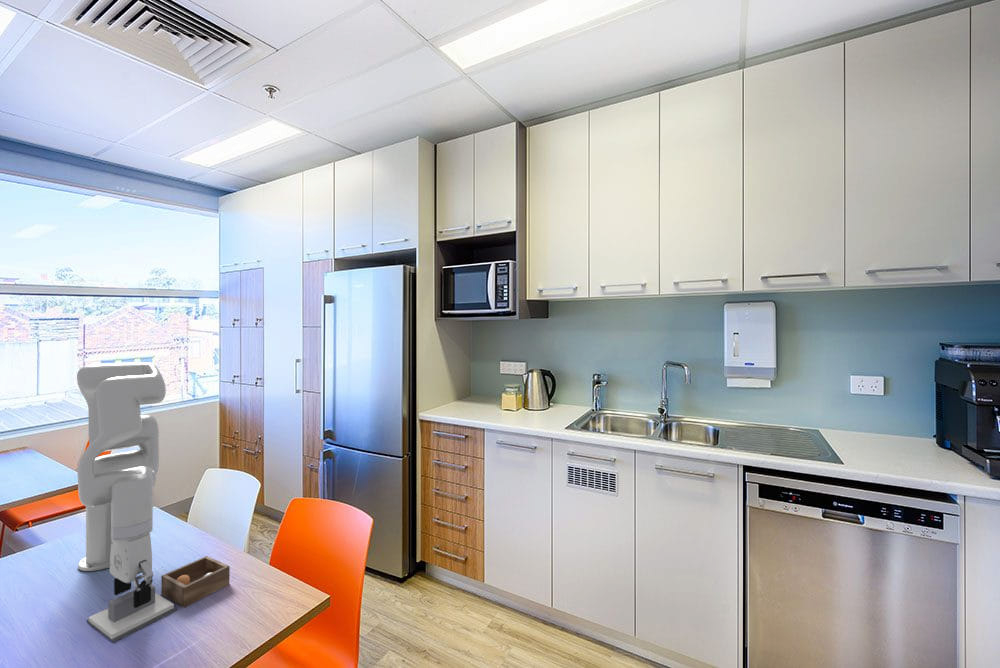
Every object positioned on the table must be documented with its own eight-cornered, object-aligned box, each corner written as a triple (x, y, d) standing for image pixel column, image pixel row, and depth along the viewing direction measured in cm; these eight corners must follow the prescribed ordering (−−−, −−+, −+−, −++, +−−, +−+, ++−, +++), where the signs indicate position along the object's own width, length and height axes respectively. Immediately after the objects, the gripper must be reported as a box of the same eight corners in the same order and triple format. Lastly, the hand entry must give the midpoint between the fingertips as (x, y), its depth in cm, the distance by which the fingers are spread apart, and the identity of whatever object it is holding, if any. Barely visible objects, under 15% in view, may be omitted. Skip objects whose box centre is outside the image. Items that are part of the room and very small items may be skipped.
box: (161, 594, 110) (161, 575, 110) (206, 573, 120) (206, 555, 120) (184, 607, 105) (184, 587, 105) (229, 584, 115) (229, 566, 115)
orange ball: (172, 589, 111) (172, 577, 111) (186, 582, 114) (186, 571, 114) (179, 592, 109) (179, 580, 109) (192, 586, 112) (192, 574, 112)
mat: (86, 621, 100) (86, 620, 100) (147, 593, 110) (147, 592, 110) (114, 642, 93) (114, 640, 93) (176, 610, 104) (176, 609, 104)
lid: (88, 621, 99) (88, 600, 99) (149, 593, 110) (149, 574, 110) (111, 639, 94) (111, 617, 94) (173, 607, 104) (173, 587, 104)
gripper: (96, 526, 102) (96, 595, 102) (130, 543, 94) (130, 619, 94) (134, 514, 109) (134, 579, 109) (169, 529, 101) (168, 600, 101)
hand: (132, 598), depth 102 cm, fingers open, 9 cm apart
